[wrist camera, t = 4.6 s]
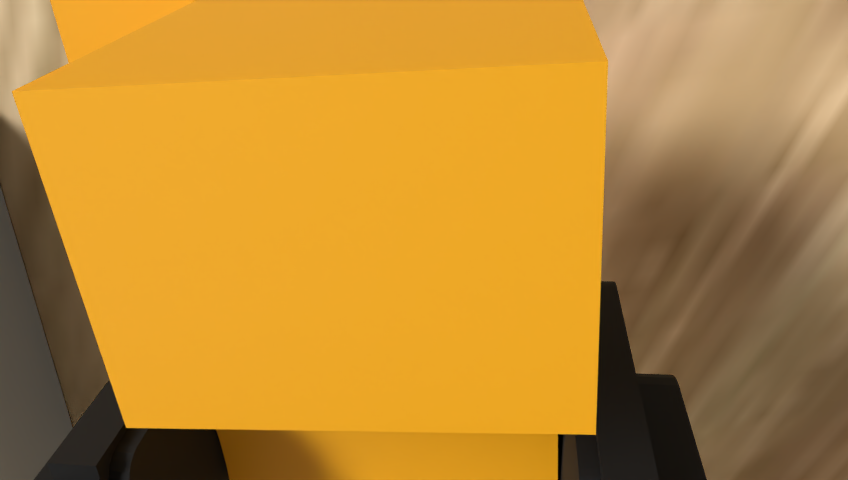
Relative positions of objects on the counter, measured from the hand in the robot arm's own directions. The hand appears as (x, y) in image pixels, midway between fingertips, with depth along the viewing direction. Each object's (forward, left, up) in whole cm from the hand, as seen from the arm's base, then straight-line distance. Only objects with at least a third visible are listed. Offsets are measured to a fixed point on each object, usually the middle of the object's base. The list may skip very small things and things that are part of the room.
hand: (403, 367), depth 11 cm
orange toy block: (0, 0, -1) cm, 1 cm away
